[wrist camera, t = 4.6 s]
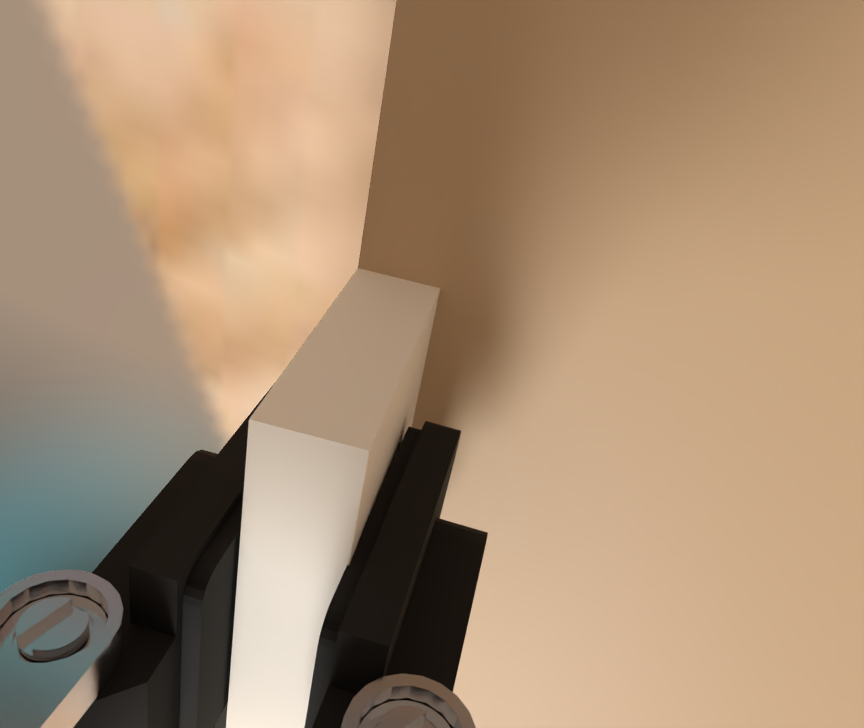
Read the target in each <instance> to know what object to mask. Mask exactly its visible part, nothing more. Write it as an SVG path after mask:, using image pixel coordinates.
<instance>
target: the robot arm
mask: <svg viewBox="0 0 864 728" xmlns="http://www.w3.org/2000/svg"><path fill="white" fill-rule="evenodd" d="M274 384H275V383H274ZM272 387H273V386H272ZM272 387H271V388H272ZM271 388H270V389H271ZM269 391H270V390H269ZM269 391H268V392H269ZM268 392H267V393H266V395H267V394H268ZM266 395H265V396H266ZM265 396H264V397H263V398H262V400H263V399H264V398H265ZM262 400H261V401H260V402H259V403H258V405H257V406H256V407H255V408H254V410H253V411H252V412H251V413H250V415H249V416H248V417H247V418H246V420H245V421H244V422H243V424H242V425H241V426H240V427H239V429H238V430H237V431H236V432H235V434H234V435H233V436H232V437H231V439H230V440H229V441H228V442H227V444H226V445H225V446H224V447H223V449H222V450H221V451H220V452H219V454H215V453H212V452H208V451H205V450H200V451H197V452H195V453H194V454H193V455H192V456H191V457H190V458H189V459H188V460H187V461H186V463H185V464H184V465H183V466H182V467H181V469H180V470H179V471H178V472H177V473H176V474H175V476H174V477H173V478H172V479H171V480H170V482H169V483H168V484H167V485H166V486H165V488H164V489H163V490H162V491H161V492H160V493H159V495H158V496H157V497H156V498H155V499H154V500H153V502H152V503H151V504H150V505H149V506H148V508H147V509H146V510H145V511H144V512H143V513H142V514H141V516H140V517H139V518H138V519H137V520H136V522H135V523H134V524H133V525H132V526H131V527H130V529H129V530H128V531H127V532H126V533H125V535H124V536H123V537H122V538H121V539H120V540H119V542H118V543H117V544H116V545H115V546H114V548H113V549H112V550H111V551H110V552H109V553H108V555H107V556H106V557H105V558H104V559H103V561H102V562H101V563H100V564H99V565H98V566H97V568H96V569H95V570H94V571H93V572H92V573H88V572H83V571H78V570H54V571H50V572H45V573H41V574H37V575H33V576H30V577H28V578H26V579H24V580H22V581H19V582H17V583H15V584H13V585H11V586H10V587H9V588H7V589H6V590H5V591H3V592H2V593H1V594H0V728H214V727H215V725H216V723H217V721H218V719H219V717H220V715H221V713H222V711H223V709H224V708H225V706H226V704H227V702H228V695H229V682H230V668H231V655H232V641H233V628H234V614H235V601H236V587H237V574H238V560H239V547H240V533H241V520H242V506H243V493H244V479H245V466H246V452H247V439H248V425H249V418H250V417H251V416H252V414H253V413H254V412H255V410H256V409H257V407H258V406H259V405H260V403H261V402H262ZM460 435H461V430H457V429H453V428H450V427H446V426H443V425H439V424H435V423H432V422H428V421H425V423H424V425H423V427H422V430H420V429H417V428H413V427H410V426H409V427H408V429H407V431H406V433H405V435H404V438H403V440H402V442H401V444H400V447H399V449H398V451H397V454H396V456H395V458H394V460H393V463H392V465H391V467H390V469H389V472H388V474H387V476H386V478H385V481H384V483H383V485H382V487H381V490H380V492H379V494H378V496H377V499H376V501H375V503H374V505H373V508H372V510H371V512H370V514H369V517H368V519H367V521H366V524H365V526H364V529H363V531H362V534H361V536H360V539H359V542H358V544H357V547H356V549H355V552H354V554H353V557H352V560H351V562H350V565H349V566H348V565H347V566H346V569H345V571H344V573H343V575H342V578H341V580H340V582H339V584H338V587H337V589H336V591H335V593H334V596H333V598H332V600H331V603H330V605H329V607H328V610H327V613H326V616H325V619H324V622H323V625H322V629H321V632H320V636H319V641H318V646H317V653H316V659H315V665H314V671H313V678H312V684H311V690H310V696H309V702H308V709H307V715H306V721H305V727H304V728H476V727H475V724H474V722H473V719H472V717H471V714H470V712H469V710H468V709H467V708H466V706H465V705H464V704H463V703H462V701H461V700H460V699H459V697H458V696H457V695H456V694H454V693H453V689H454V685H455V680H456V676H457V671H458V667H459V662H460V658H461V653H462V649H463V644H464V640H465V635H466V631H467V626H468V622H469V617H470V613H471V608H472V604H473V599H474V595H475V591H476V586H477V582H478V577H479V573H480V568H481V564H482V559H483V555H484V550H485V546H486V541H487V536H488V532H484V531H481V530H477V529H474V528H470V527H467V526H464V525H460V524H457V523H453V522H450V521H446V520H443V519H440V515H441V511H442V507H443V503H444V499H445V495H446V491H447V487H448V483H449V479H450V475H451V471H452V467H453V463H454V459H455V455H456V451H457V447H458V443H459V439H460Z"/></svg>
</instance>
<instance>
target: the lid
mask: <svg viewBox="0 0 864 728" xmlns="http://www.w3.org/2000/svg"><path fill="white" fill-rule="evenodd" d="M425 421H428V422H432V423H435V424H439V425H443V426H446V427H450V428H453V429H457V430H461V435H460V439H459V443H458V447H457V451H456V455H455V459H454V463H453V467H452V471H451V475H450V479H449V483H448V487H447V491H446V495H445V499H444V503H443V507H442V511H441V515H440V519H443V520H446V521H450V522H453V523H457V524H460V525H464V526H467V527H470V528H474V529H477V530H481V531H484V532H488V536H487V541H486V546H485V550H484V555H483V559H482V564H481V568H480V573H479V577H478V582H477V586H476V591H475V595H474V599H473V604H472V608H471V613H470V617H469V622H468V626H467V631H466V635H465V640H464V644H463V649H462V653H461V658H460V662H459V667H458V671H457V676H456V680H455V685H454V689H453V693H454V694H456V695H457V696H458V697H459V699H460V700H461V701H462V703H463V704H464V705H465V706H466V708H467V709H468V710H469V712H470V714H471V717H472V719H473V722H474V724H475V727H476V728H864V0H397V2H396V9H395V16H394V23H393V30H392V37H391V44H390V51H389V58H388V65H387V72H386V79H385V86H384V92H383V99H382V106H381V113H380V120H379V127H378V134H377V141H376V148H375V155H374V162H373V169H372V175H371V182H370V189H369V196H368V203H367V210H366V217H365V224H364V231H363V238H362V245H361V252H360V258H359V265H358V269H357V270H356V272H355V273H354V274H353V276H352V277H351V279H350V280H349V281H348V283H347V284H346V286H345V287H344V288H343V290H342V291H341V292H340V294H339V295H338V297H337V298H336V299H335V301H334V302H333V304H332V305H331V306H330V308H329V309H328V310H327V312H326V313H325V315H324V316H323V317H322V319H321V320H320V322H319V323H318V324H317V326H316V327H315V328H314V330H313V331H312V333H311V334H310V335H309V337H308V338H307V340H306V341H305V342H304V344H303V345H302V346H301V348H300V349H299V351H298V352H297V353H296V355H295V356H294V358H293V359H292V360H291V362H290V363H289V364H288V366H287V367H286V369H285V370H284V371H283V373H282V374H281V376H280V377H279V378H278V380H277V381H276V382H275V384H274V385H273V387H272V388H271V389H270V391H269V392H268V394H267V395H266V396H265V398H264V399H263V400H262V402H261V403H260V405H259V406H258V407H257V409H256V410H255V412H254V413H253V414H252V416H251V417H250V418H249V425H248V439H247V452H246V466H245V479H244V493H243V506H242V520H241V533H240V547H239V560H238V574H237V587H236V601H235V614H234V628H233V641H232V655H231V668H230V682H229V695H228V709H227V723H226V728H304V727H305V721H306V715H307V709H308V702H309V696H310V690H311V684H312V678H313V671H314V665H315V659H316V653H317V646H318V641H319V636H320V632H321V629H322V625H323V622H324V619H325V616H326V613H327V610H328V607H329V605H330V603H331V600H332V598H333V596H334V593H335V591H336V589H337V587H338V584H339V582H340V580H341V578H342V575H343V573H344V571H345V569H346V566H347V565H348V566H349V565H350V562H351V560H352V557H353V554H354V552H355V549H356V547H357V544H358V542H359V539H360V536H361V534H362V531H363V529H364V526H365V524H366V521H367V519H368V517H369V514H370V512H371V510H372V508H373V505H374V503H375V501H376V499H377V496H378V494H379V492H380V490H381V487H382V485H383V483H384V481H385V478H386V476H387V474H388V472H389V469H390V467H391V465H392V463H393V460H394V458H395V456H396V454H397V451H398V449H399V447H400V444H401V442H402V440H403V438H404V435H405V433H406V431H407V429H408V427H409V426H410V427H413V428H417V429H420V430H422V427H423V425H424V423H425Z"/></svg>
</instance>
